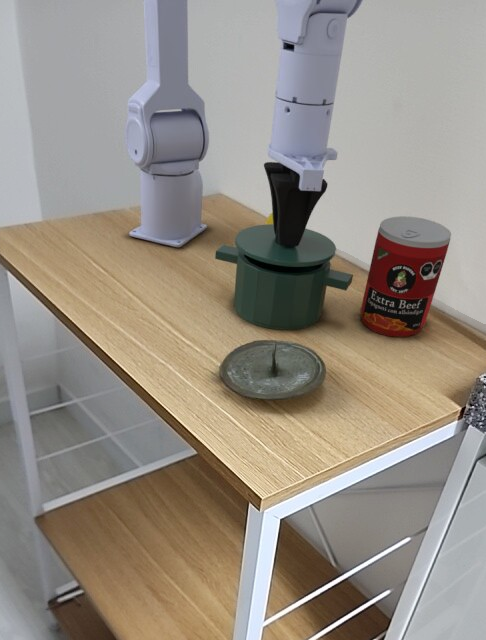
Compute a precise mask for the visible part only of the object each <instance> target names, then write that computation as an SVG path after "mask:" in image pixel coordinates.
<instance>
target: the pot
mask: <svg viewBox="0 0 486 640" xmlns="http://www.w3.org/2000/svg"><path fill="white" fill-rule="evenodd" d="M214 256H215V257H214V259H215V260H218V261H222V262H227V263H230V264H235V265H236V271H235V281H234V294H233V309H234V311H235V313H236V314H237V315H238V317H240V318H241V319H243V320H245V322H248V323H250V324H252V325H255V326H257V327H261V328H265V329H271V330H278V331H279V330H280V331H281V330H282V331H294V330H301V329H305V328H309V327H310V326H313V325H314V324H316V323H318V322H319V320H320V318H321V316H322V314H323V309H324V304H325V297H326V292H327V288H328V287H329V288H334V289H338V290H342V291H347V290H348V289H349V287H350V286H351V285H352V283H353V278H354V274H353V273H348V272H344V271H339V270H335V269H331V260H329V261H328V262H325V263H323V264H319V265H314V266H305V267H290V266H280V265H274V264H269V263H265V262H261V261H258V260H255V259H253V258H251V257H249V256H247V255H245V254H243V253H242V252H241V251H240V250H239V249H238V248H237V247H236V246H232V245H228V244H222V245H220V247H218V248H217V249H216V250H215V255H214Z"/></svg>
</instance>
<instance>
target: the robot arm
mask: <svg viewBox="0 0 486 640" xmlns="http://www.w3.org/2000/svg"><path fill="white" fill-rule="evenodd" d="M142 2H143V24H144V45H145V46H144V47H145V48H144V49H145V69H146V81H145V82H144V84H142V86H141V87H140V88H139V89H138V90H137V91H136V92H135V93H133V94H132V96H130V97H129V98H128V100H127V103H126V104H127V108H126V109H127V113H126V115H127V116H126V124H125V128H124V140H125V147H126V151H127V154H128V156H129V158H130V160H131V161H132V163H133V164H134V166H136V167H138V169H139V176H140V177H139V178H140V179H139V180H140V181H139V183H140V225H139V226H137V227H135V228H134V229H132V230H130V231H129V232H128V235H129V237H132V238H136V239H140V240H144V241H149V242H153V243H156V244H160V245H165V246H170V247H174V248H181V247H183V246H184V245H185V244H187V243H188V242H190V241H191V240H192V239H193V238H195V237H196V236H198V235H199V234H201V233H202V232H203V231H205V230H206V229H207V228H208V225H207V224H205V223H202V215H203V214H202V213H203V195H204V194H203V189H204V185H203V184H204V182H203V177H202V174H201V172H200V162H202V161H203V160H204V159H205V158H206V155H207V153H208V149H209V147H210V145H209V144H210V132H209V127H208V123H207V119H206V110H205V107H206V106H205V104H206V103H205V101H204V99H203V98H202V97H201V96H200V95H199V94H198V93H197V92H196V91H195V90H194V89H193V87H192V86H191V85H190V83H189V28H188V26H189V25H188V19H189V18H188V17H189V16H188V0H143V1H142ZM274 3H275V7H276V12H277V22H276V32H277V38H278V40H280V48H279V49H280V50H279V57H278V69H277V77H276V86H275V87H276V88H275V96H274V104H273V105H274V106H273V115H272V116H273V117H272V126H271V135H270V142H269V144H268V146H267V156H268V158H270V159H272V160H274V161H275V162H274V161H267V162H264V163H263V167H264V170H265V171H264V172H265V175H266V177H267V182H268V185H269V190H270V197H271V198H270V199H271V209H272V212H273V226H274V232H275V235H276V228H277V220H278V238H279V243H280V245H281V246H298V245H299V243H300V241H301V239H302V236H303V234H304V231H305V228H306V229H307V225H308V222H309V219H310V217H311V215H312V213H313V211H314V209H315V207H316V205H317V204H318V203H319V201H320V199H321V198H322V196H323V195H324V194H325V193H326V191H327V188H328V182H327V181H326V179H325V178H324V174H325V173H324V172H325V170H324V168H325V165H326V163H327V161H336V160H338V151H337V149H336V148H333V147H328V143H329V137H330V130H331V123H332V117H333V112H334V105H335V99H336V95H337V93H336V92H337V87H338V81H339V74H340V67H341V61H342V55H343V48H344V42H345V37H346V30H347V24H348V19H349V18H351V17H352V16H353V15H355V14H356V12H357V11H358V10H359V8H360V7H361V4H362V3H363V0H274ZM169 110H170V111H169ZM174 110H175V111H174ZM272 212H271V213H272Z"/></svg>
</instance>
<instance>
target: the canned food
mask: <svg viewBox="0 0 486 640" xmlns="http://www.w3.org/2000/svg"><path fill="white" fill-rule="evenodd" d="M451 236H452V233H451V230H450V229H448V228H447V227H446V226H445V225H442V224H441V223H439V222H436V221H433V220H430V219H426V218H422V217H416V216H407V215H406V216H405V215H404V216H403V215H402V216H400V215H399V216H392V217H388V218H384V219H383V220H382V221H380V224H379V227H378V230H377V235H376V238H375V243H374V247H373V253H372V257H371V262H370V266H369V270H368V274H367V278H366V279H367V280H366V284H365V290H364V293H363V299H362V303H361V307H360V318H361V322H362V323H363V324H364V325H365V327H367V328H368V329H369V330H371V331H373V332H375V333H378V334H381V335H383V336H384V335H385V336H389V337H394V338H395V337H397V338H401V337H403V338H404V337H410V336H411V337H412V336H413V335H416V334H418V333H419V332H421V331H422V330H423V328H424V326H425V325H426V323H427V319H428V317H429V313H430V309H431V305H432V303H433V299H434V295H435V293H436V289H437V286H438V283H439V280H440V277H441V272H442V269H443V266H444V263H445V259H446V257H447V253H448V249H449V246H450V242H451Z"/></svg>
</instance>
